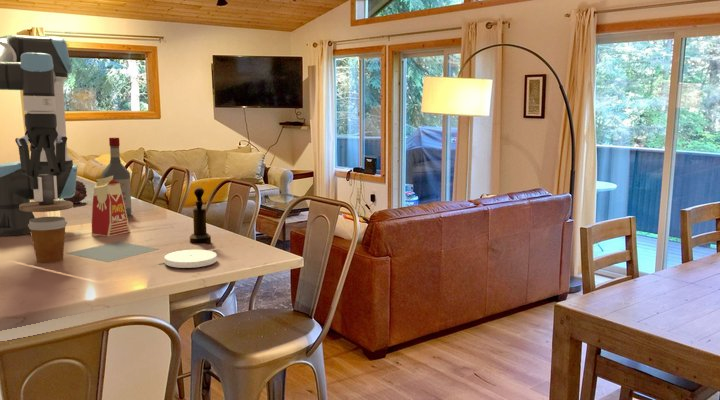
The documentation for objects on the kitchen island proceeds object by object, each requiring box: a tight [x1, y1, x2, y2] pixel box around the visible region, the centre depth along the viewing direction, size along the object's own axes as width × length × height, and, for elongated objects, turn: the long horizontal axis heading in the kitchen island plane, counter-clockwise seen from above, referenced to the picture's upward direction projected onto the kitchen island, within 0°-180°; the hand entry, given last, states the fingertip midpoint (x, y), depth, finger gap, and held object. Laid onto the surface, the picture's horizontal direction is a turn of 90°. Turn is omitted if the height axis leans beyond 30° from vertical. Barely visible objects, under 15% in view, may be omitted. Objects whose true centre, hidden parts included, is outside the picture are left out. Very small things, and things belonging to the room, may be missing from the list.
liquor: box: [101, 137, 132, 217], centre depth 234 cm, size 9×9×30 cm
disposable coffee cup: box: [28, 216, 68, 264], centre depth 165 cm, size 10×10×12 cm
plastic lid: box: [163, 249, 218, 269], centre depth 167 cm, size 14×14×2 cm
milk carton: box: [91, 175, 131, 238], centre depth 200 cm, size 9×9×20 cm
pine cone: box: [62, 179, 88, 204], centre depth 260 cm, size 18×10×10 cm, turn 40°
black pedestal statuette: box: [189, 186, 212, 245], centre depth 190 cm, size 7×6×18 cm
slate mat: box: [66, 240, 159, 263], centre depth 177 cm, size 18×18×1 cm
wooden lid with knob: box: [19, 174, 74, 213], centre depth 163 cm, size 13×13×9 cm
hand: (46, 199), depth 163 cm, fingers closed on wooden lid with knob, 3 cm apart
